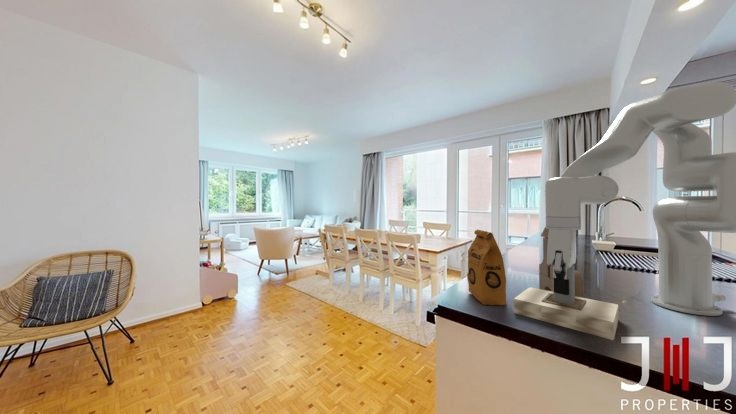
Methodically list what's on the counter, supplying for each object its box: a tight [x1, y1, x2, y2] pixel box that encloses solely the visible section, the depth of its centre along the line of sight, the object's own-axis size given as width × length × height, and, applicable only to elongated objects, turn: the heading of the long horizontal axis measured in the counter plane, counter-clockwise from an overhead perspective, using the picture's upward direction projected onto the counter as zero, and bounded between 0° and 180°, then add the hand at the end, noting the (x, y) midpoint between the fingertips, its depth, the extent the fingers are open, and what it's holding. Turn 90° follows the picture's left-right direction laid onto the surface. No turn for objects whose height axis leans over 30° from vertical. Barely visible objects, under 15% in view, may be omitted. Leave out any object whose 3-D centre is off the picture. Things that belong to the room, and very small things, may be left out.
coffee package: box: [466, 229, 507, 306], centre depth 81 cm, size 10×12×22 cm
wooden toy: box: [538, 225, 584, 298], centre depth 82 cm, size 16×7×25 cm, turn 167°
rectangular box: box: [513, 286, 620, 341], centre depth 67 cm, size 20×14×4 cm
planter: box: [553, 263, 575, 304], centre depth 67 cm, size 4×4×10 cm
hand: (563, 290), depth 67 cm, fingers closed on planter, 4 cm apart
